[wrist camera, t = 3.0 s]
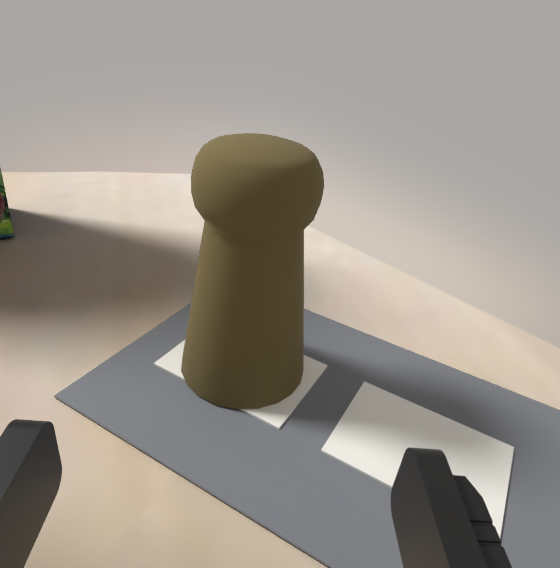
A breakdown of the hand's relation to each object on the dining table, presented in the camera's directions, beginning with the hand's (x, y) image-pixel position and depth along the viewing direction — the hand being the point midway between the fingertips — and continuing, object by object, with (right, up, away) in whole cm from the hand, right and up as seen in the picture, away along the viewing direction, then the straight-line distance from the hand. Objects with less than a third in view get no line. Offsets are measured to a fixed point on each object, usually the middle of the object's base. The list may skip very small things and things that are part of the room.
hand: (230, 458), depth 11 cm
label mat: (+3, -2, +11) cm, 11 cm away
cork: (-1, 0, +12) cm, 12 cm away
